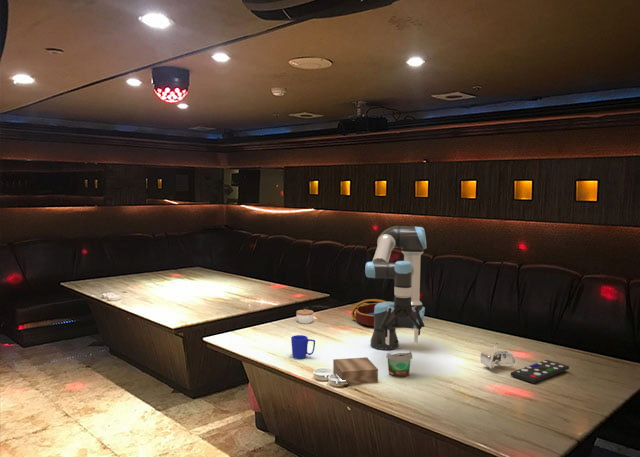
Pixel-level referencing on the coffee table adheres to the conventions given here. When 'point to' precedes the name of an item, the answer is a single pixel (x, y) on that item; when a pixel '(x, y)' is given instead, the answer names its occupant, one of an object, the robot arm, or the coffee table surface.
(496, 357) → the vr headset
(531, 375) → the remote control
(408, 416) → the coffee table surface
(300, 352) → the mug
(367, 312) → the decorative basket
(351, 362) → the walnut riser
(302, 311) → the lidded jar
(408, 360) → the food container
